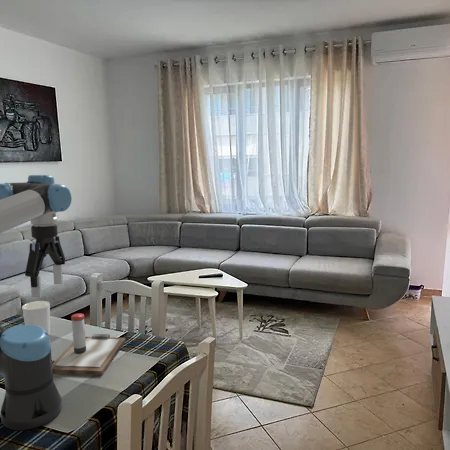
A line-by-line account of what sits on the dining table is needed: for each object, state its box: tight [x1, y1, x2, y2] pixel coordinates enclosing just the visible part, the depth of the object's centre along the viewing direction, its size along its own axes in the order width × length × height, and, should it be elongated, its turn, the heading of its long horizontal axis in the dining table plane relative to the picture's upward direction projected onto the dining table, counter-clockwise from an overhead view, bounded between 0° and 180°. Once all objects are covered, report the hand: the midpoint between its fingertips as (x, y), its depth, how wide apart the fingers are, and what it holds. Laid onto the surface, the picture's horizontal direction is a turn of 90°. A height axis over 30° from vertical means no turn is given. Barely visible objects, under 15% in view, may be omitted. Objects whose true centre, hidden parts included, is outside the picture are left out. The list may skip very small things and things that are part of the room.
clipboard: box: [52, 333, 127, 376], centre depth 145 cm, size 18×24×3 cm
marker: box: [70, 313, 86, 354], centre depth 144 cm, size 4×4×13 cm
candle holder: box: [21, 300, 51, 335], centre depth 162 cm, size 10×10×12 cm
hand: (48, 290), depth 134 cm, fingers open, 13 cm apart
